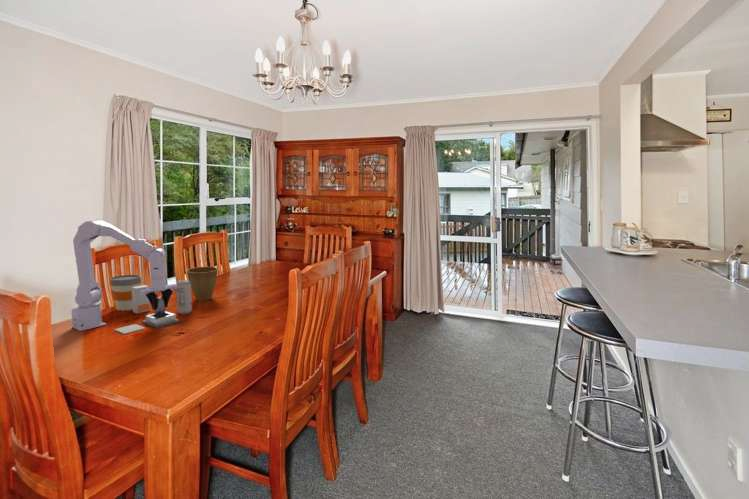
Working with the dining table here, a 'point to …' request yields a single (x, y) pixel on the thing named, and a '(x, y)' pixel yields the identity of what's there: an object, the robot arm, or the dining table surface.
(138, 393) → the dining table surface
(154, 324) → the socket block
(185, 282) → the energy drink can
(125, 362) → the dining table surface
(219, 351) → the dining table surface
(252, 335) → the dining table surface
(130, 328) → the mat
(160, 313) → the key peg
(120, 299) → the reusable coffee cup
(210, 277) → the plant pot
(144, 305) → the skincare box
